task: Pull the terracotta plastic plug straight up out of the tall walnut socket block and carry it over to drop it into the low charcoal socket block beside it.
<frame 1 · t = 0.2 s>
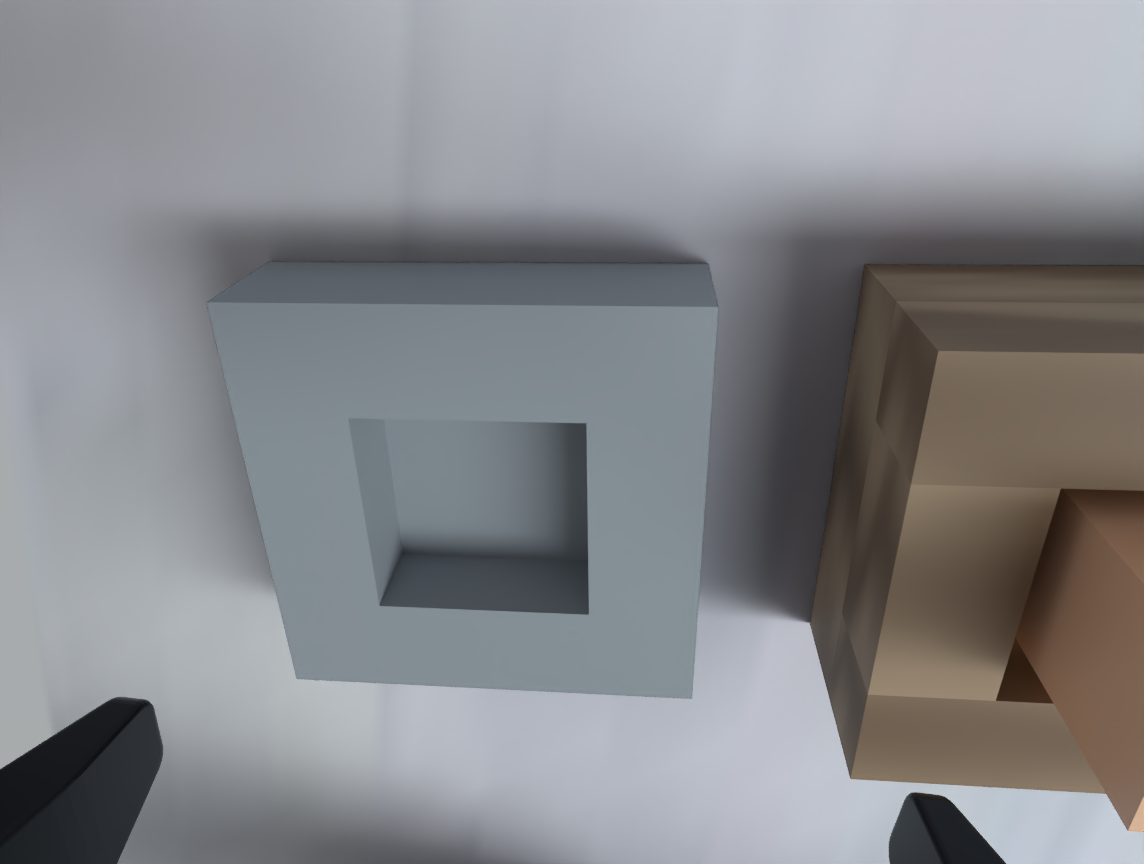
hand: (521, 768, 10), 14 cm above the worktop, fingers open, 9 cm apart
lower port: (497, 457, 24), on the worktop
plug: (1100, 530, 20), point 3 cm above the worktop, touching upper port
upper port: (1048, 471, 23), on the worktop
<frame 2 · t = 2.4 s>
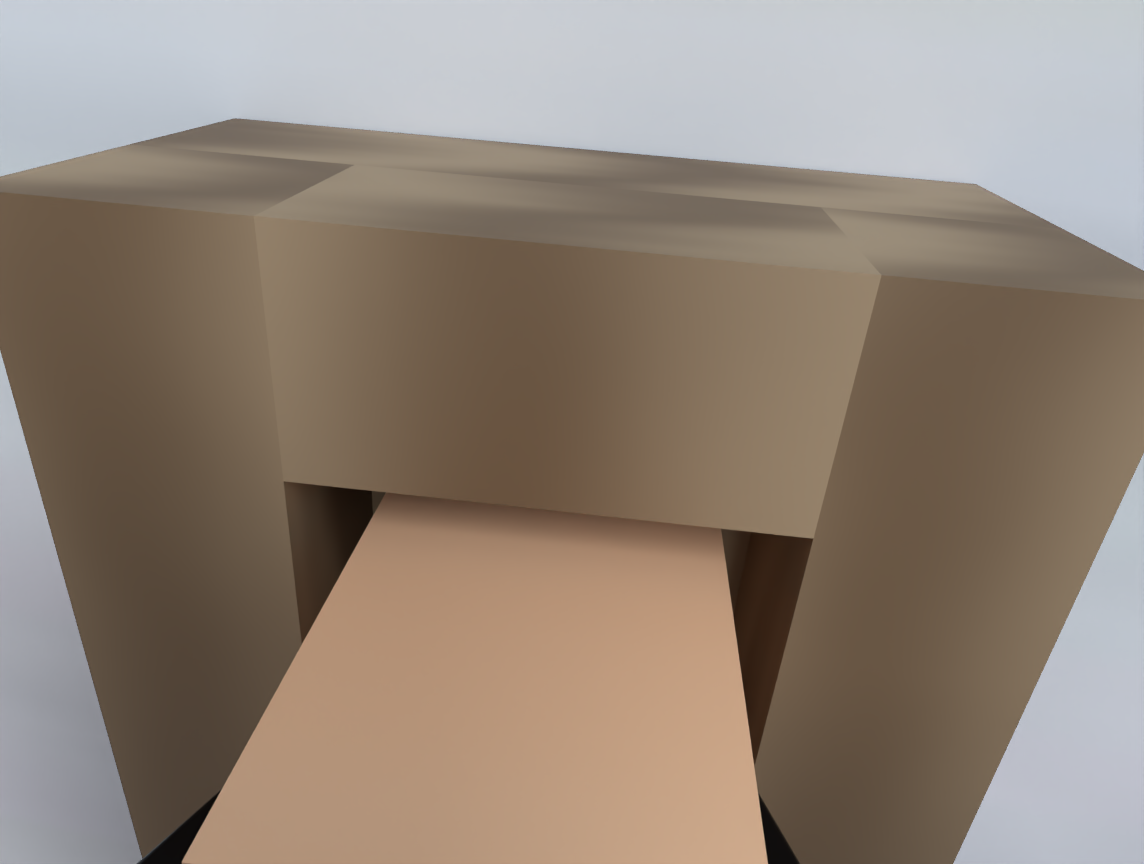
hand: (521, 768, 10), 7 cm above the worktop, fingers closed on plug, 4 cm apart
plug: (555, 563, 13), point 3 cm above the worktop, touching gripper, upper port
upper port: (571, 470, 16), on the worktop
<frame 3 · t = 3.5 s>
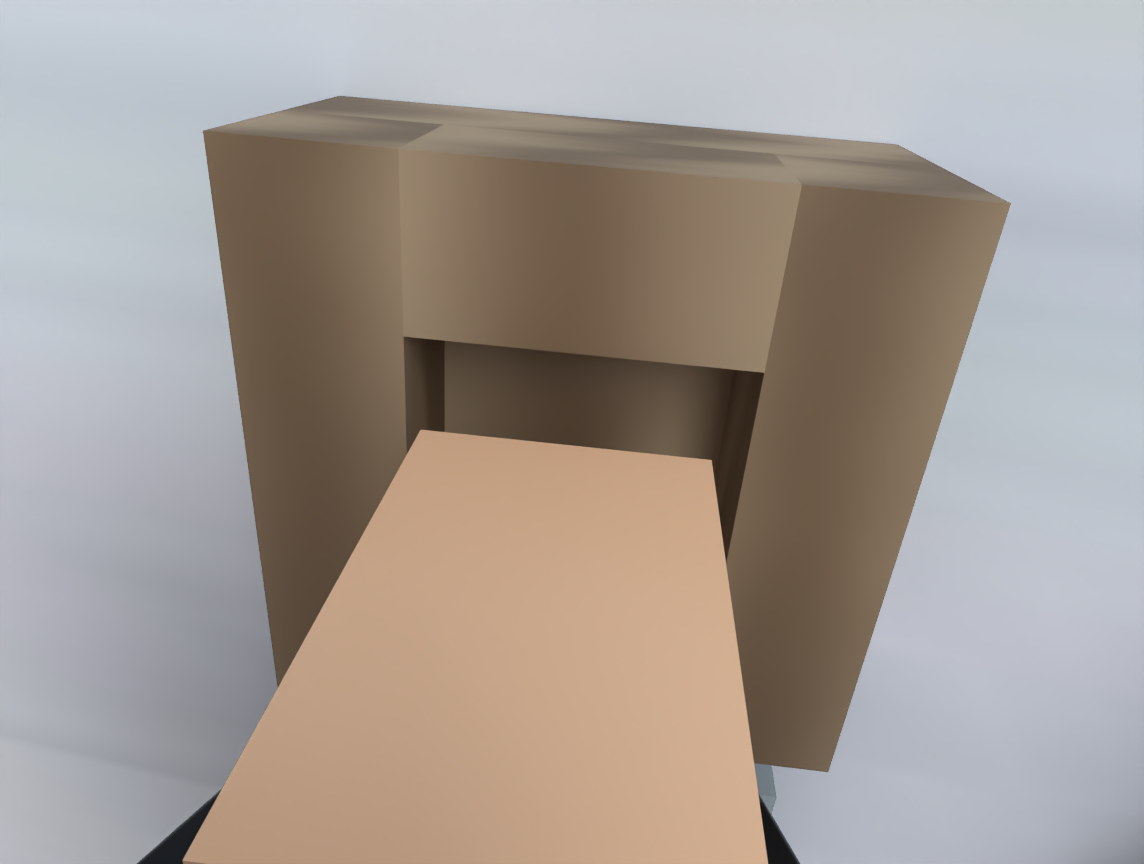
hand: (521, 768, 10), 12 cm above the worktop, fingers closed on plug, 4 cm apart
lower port: (552, 804, 27), on the worktop
plug: (555, 562, 13), point 8 cm above the worktop, touching gripper
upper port: (591, 376, 20), on the worktop
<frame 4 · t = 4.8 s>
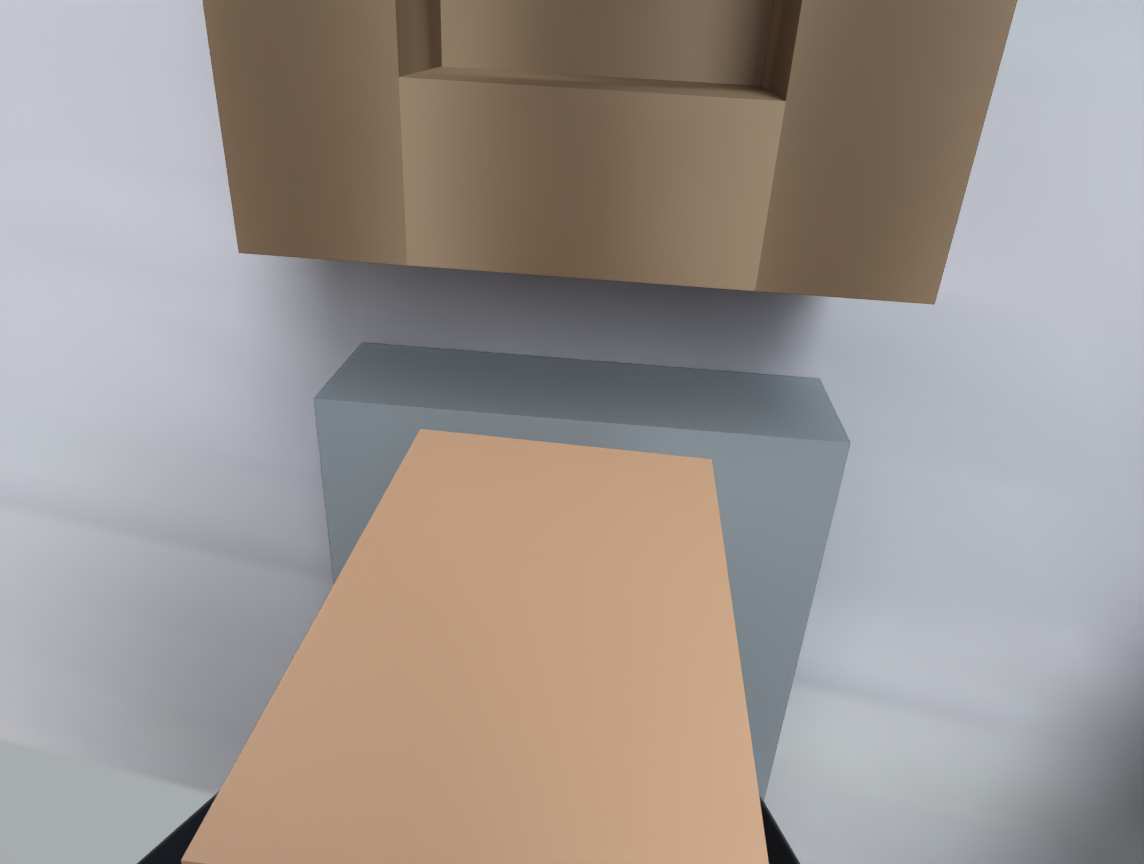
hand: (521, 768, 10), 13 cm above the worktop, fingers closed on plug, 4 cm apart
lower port: (575, 548, 24), on the worktop
plug: (555, 562, 13), point 9 cm above the worktop, touching gripper
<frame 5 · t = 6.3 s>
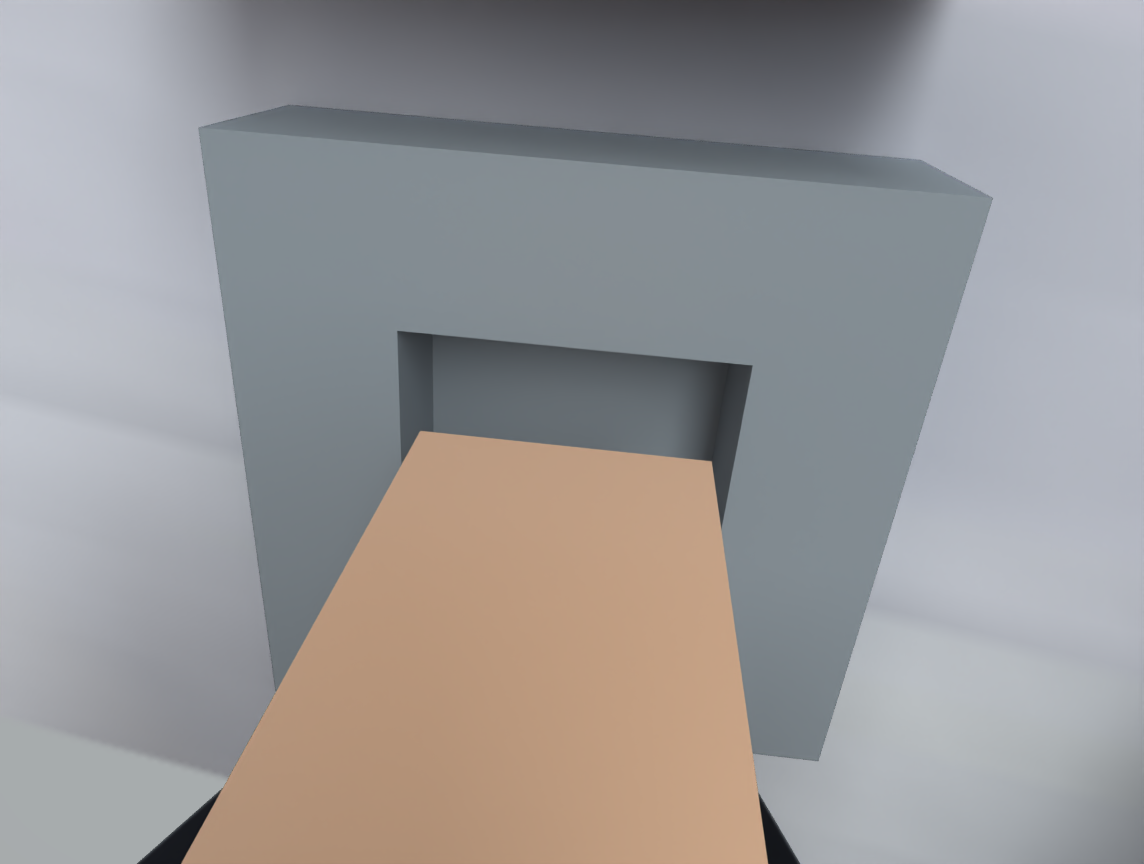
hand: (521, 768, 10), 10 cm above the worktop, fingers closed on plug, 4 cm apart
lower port: (576, 415, 18), on the worktop
plug: (555, 564, 13), point 6 cm above the worktop, touching gripper
when the fingers open (6 cm above the worktop, at t = 7.4 s): plug drops 1 cm, resting on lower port.
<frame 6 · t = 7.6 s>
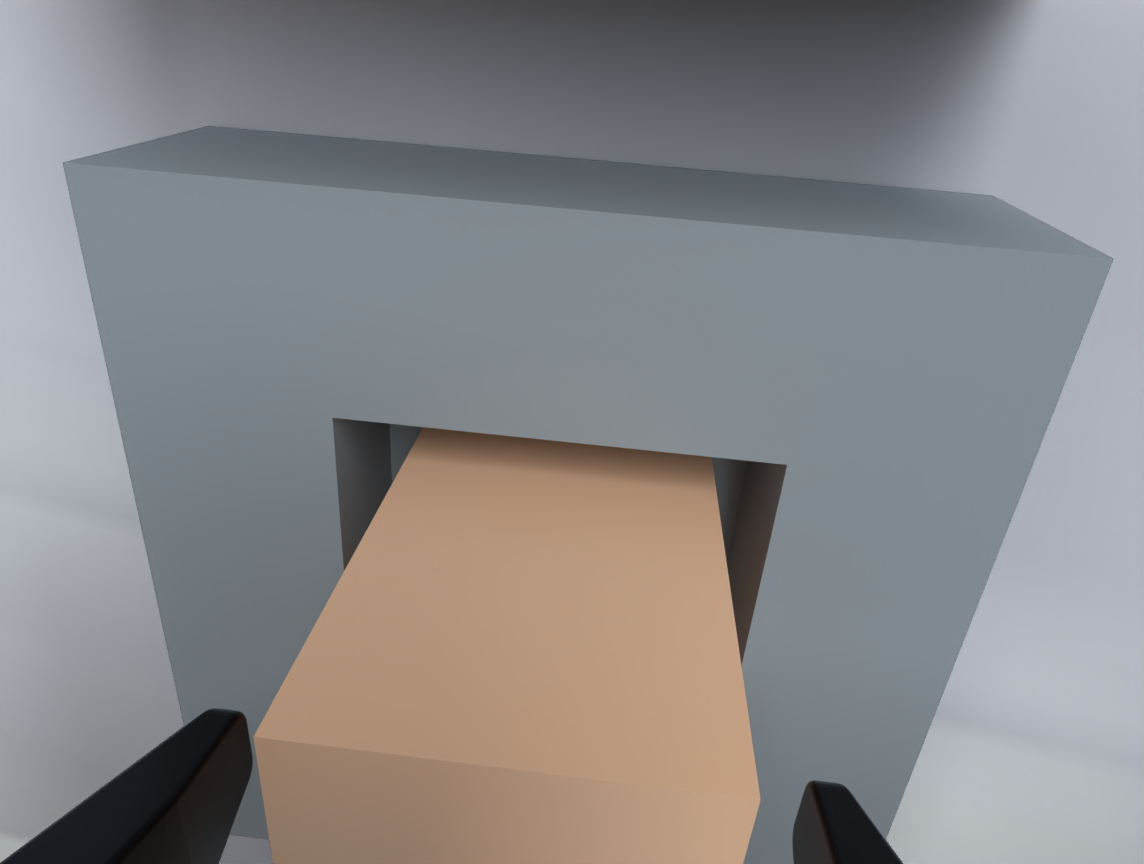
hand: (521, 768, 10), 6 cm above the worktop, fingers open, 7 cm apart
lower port: (565, 493, 15), on the worktop
plug: (562, 523, 14), point 1 cm above the worktop, touching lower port
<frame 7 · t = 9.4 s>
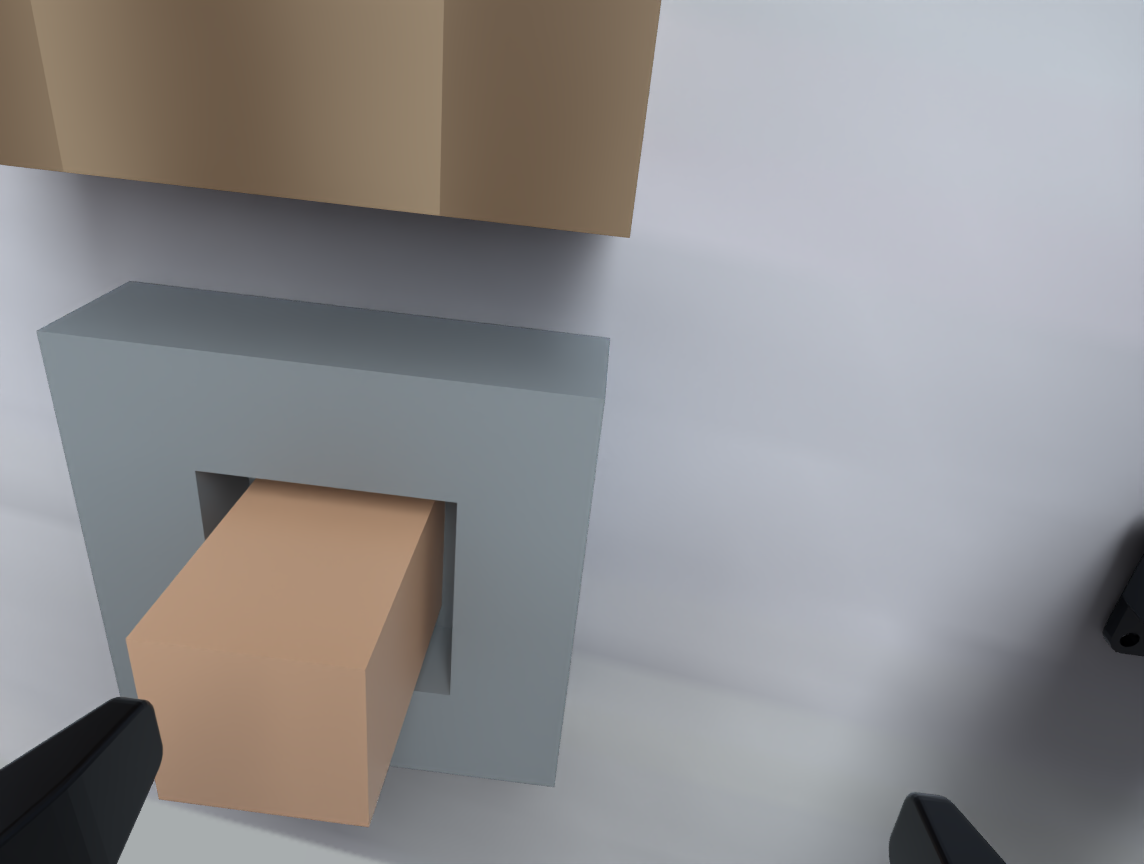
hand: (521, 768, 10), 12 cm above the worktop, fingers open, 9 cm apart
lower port: (373, 511, 23), on the worktop
plug: (363, 531, 22), point 1 cm above the worktop, touching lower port
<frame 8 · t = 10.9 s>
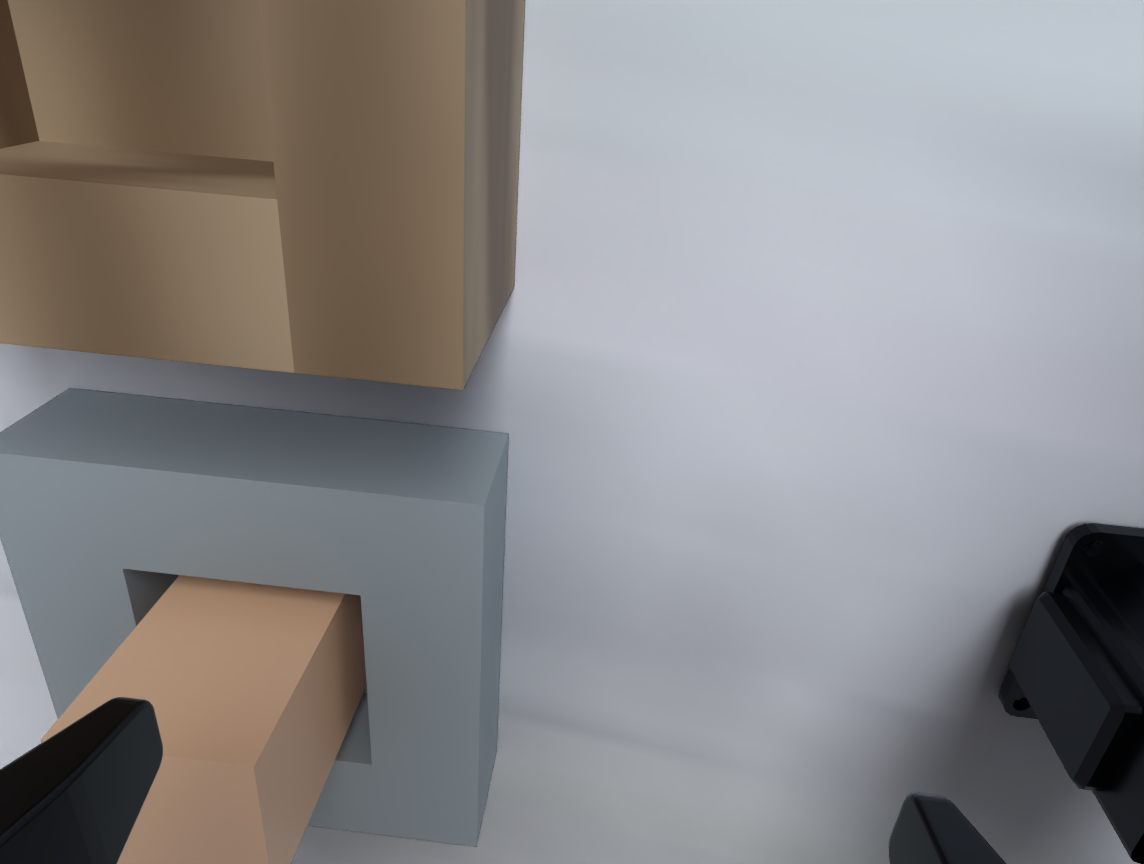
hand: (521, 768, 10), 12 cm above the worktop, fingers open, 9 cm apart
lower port: (305, 588, 24), on the worktop
plug: (293, 610, 23), point 1 cm above the worktop, touching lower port
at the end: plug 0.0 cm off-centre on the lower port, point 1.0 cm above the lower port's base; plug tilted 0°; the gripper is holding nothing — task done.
